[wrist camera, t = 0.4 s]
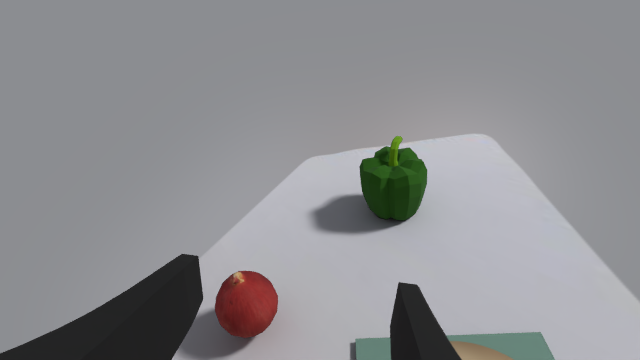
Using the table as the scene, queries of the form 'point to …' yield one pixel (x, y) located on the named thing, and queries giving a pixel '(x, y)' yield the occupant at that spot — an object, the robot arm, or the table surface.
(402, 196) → the bell pepper
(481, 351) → the lid
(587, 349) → the table surface
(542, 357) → the mat
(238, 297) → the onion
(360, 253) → the table surface
